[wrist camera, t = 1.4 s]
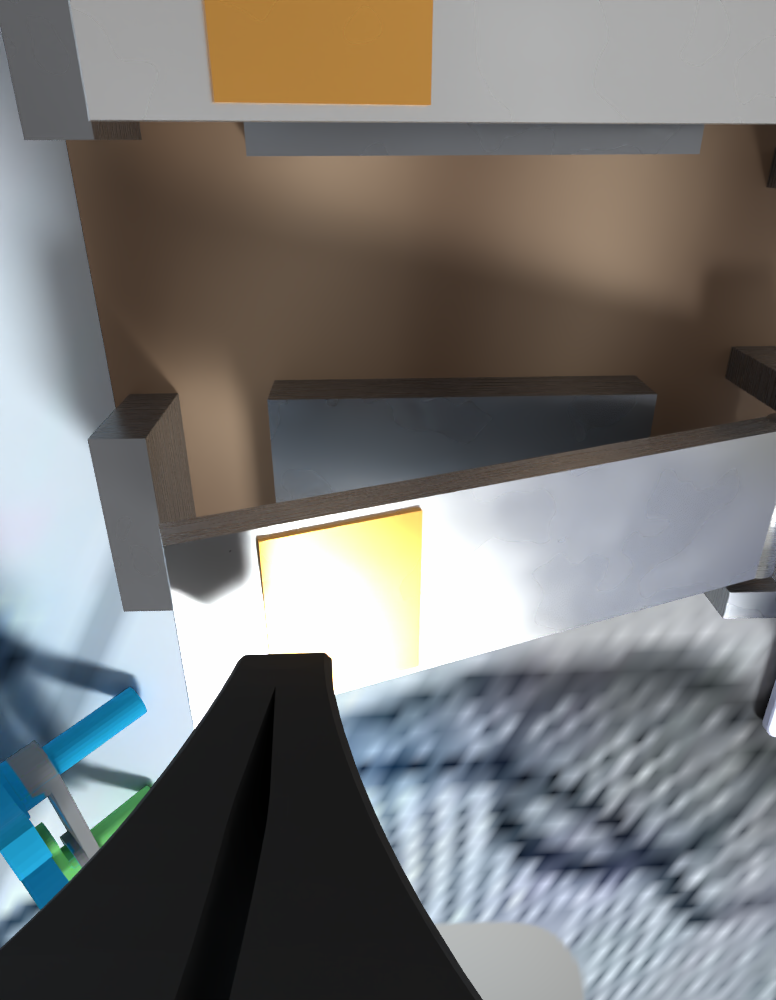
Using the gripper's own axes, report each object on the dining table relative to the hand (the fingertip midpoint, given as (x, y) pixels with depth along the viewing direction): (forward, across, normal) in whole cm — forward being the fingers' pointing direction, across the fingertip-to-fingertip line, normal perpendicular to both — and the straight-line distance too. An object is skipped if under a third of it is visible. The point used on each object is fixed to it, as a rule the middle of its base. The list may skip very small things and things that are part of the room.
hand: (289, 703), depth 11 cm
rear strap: (+5, -4, 0) cm, 7 cm away
